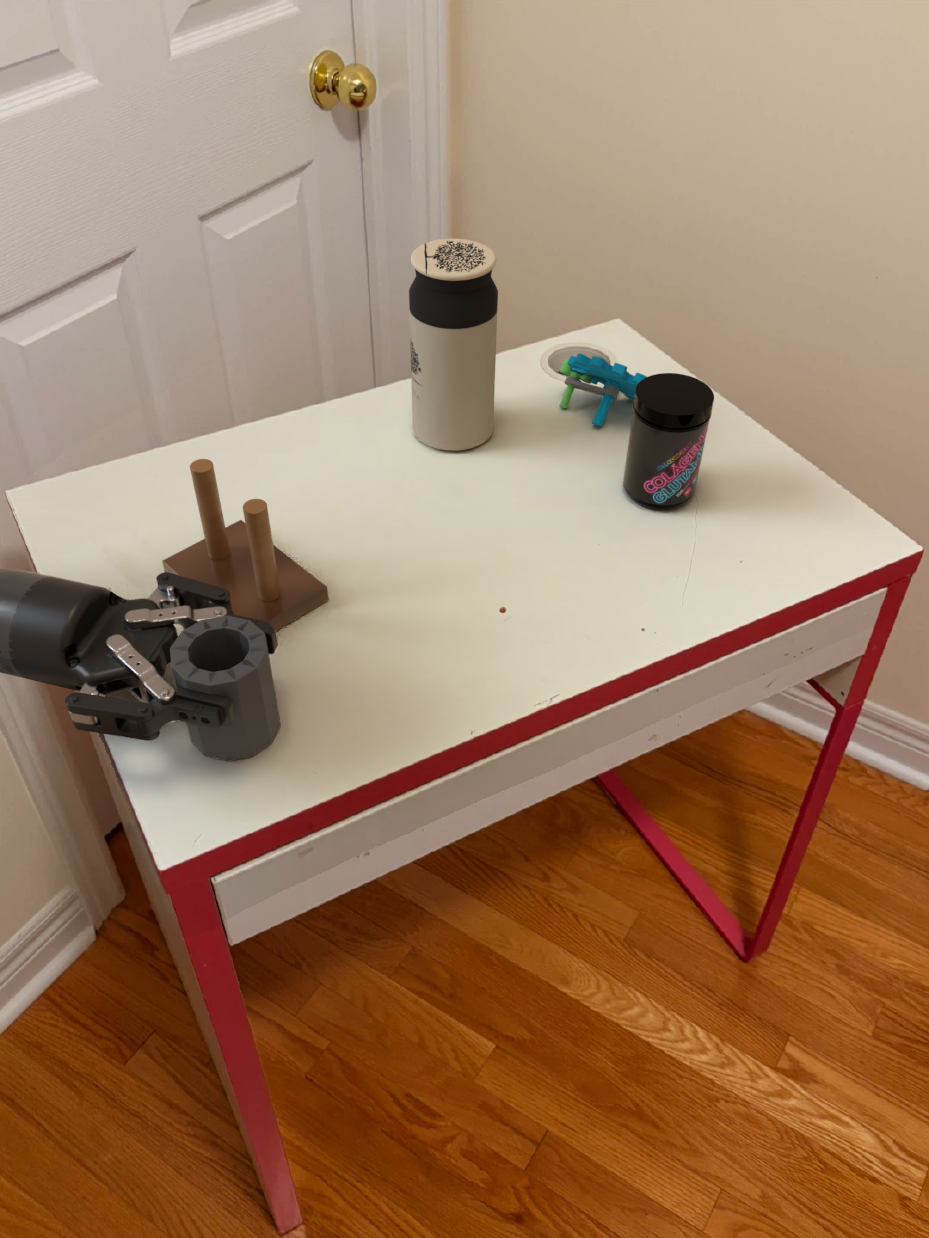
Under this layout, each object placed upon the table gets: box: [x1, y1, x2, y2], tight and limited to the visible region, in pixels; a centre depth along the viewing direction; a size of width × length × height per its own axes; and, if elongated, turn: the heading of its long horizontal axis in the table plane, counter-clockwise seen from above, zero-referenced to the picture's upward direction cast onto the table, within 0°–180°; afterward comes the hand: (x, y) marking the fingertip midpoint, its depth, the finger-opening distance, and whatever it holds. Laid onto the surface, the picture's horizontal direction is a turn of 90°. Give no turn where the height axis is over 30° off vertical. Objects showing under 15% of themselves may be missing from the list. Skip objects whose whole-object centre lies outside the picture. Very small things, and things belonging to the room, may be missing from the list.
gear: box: [559, 352, 648, 428], centre depth 104 cm, size 11×6×10 cm
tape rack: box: [161, 458, 329, 632], centre depth 84 cm, size 12×8×10 cm, turn 44°
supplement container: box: [622, 372, 715, 511], centre depth 94 cm, size 7×7×10 cm
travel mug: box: [408, 238, 499, 451], centre depth 98 cm, size 8×8×18 cm
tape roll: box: [170, 616, 282, 762], centre depth 74 cm, size 6×6×8 cm
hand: (253, 675), depth 72 cm, fingers closed on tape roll, 6 cm apart
